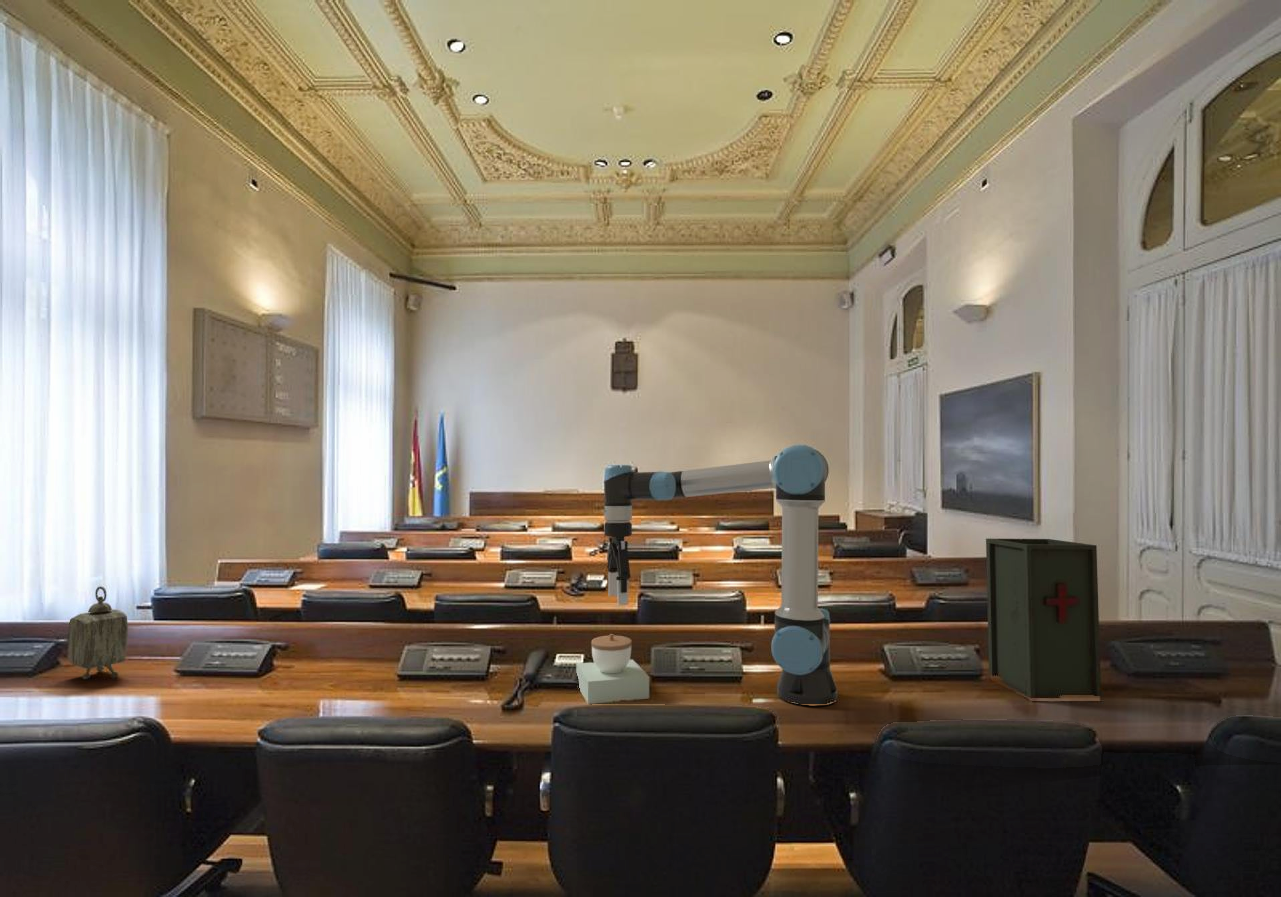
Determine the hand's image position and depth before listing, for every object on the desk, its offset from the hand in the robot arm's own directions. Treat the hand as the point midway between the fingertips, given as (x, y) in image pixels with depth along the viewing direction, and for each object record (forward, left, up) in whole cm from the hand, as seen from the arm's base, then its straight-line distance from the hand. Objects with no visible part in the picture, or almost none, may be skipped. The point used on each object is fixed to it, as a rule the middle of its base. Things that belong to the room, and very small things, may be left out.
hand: (618, 600), depth 170 cm
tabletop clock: (+142, -35, -24) cm, 148 cm away
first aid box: (-113, +21, -24) cm, 118 cm away
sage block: (+2, +2, -24) cm, 24 cm away
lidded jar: (+2, +2, -18) cm, 18 cm away
